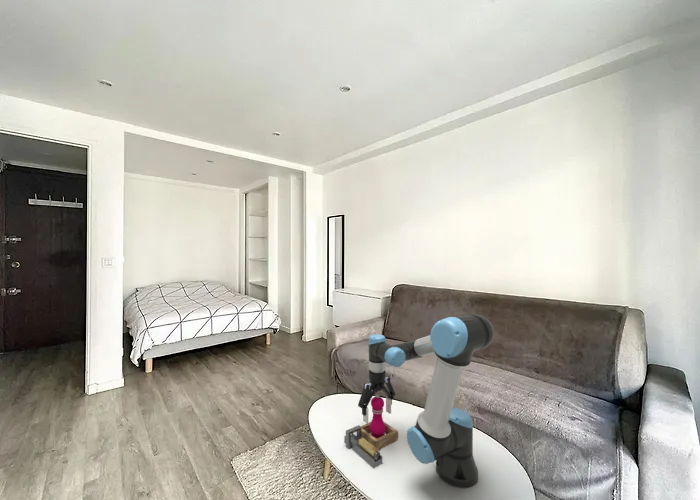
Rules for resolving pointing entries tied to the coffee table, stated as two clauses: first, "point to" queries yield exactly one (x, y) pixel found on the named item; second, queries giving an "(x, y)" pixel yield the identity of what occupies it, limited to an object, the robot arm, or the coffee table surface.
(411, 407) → the coffee table surface
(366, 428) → the cradle
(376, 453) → the pin
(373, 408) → the pepper mill
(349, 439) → the rail
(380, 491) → the coffee table surface
